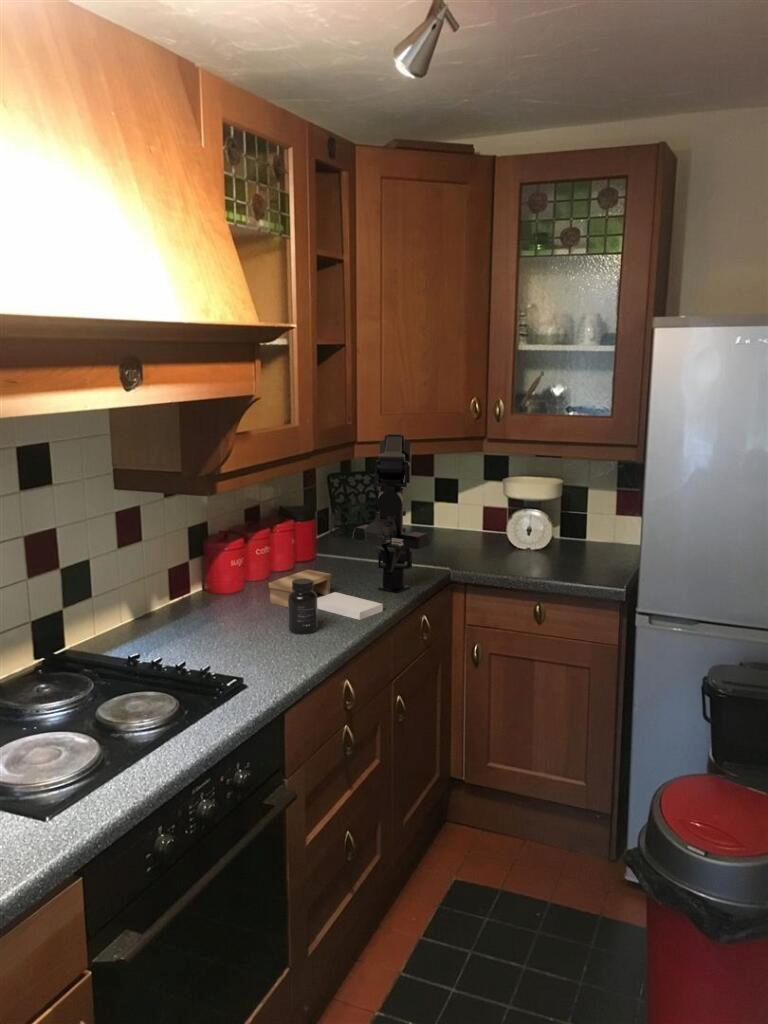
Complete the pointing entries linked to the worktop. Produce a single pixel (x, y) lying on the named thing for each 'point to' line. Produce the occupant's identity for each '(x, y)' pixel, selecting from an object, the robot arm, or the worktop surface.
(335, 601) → the panel
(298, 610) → the supplement bottle
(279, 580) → the oak shelf
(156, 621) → the worktop surface
